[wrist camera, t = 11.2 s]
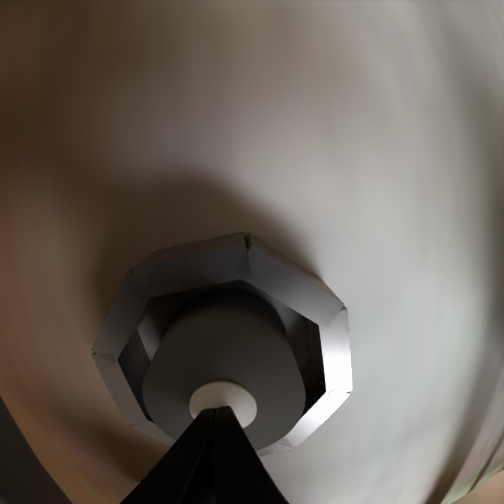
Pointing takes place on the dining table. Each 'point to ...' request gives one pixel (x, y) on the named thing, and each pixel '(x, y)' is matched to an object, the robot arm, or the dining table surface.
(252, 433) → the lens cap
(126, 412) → the barrel ring
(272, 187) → the dining table surface
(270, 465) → the dining table surface
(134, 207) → the dining table surface
